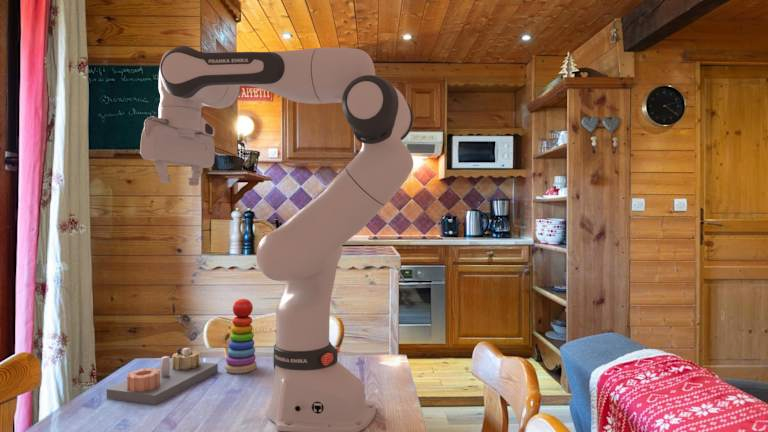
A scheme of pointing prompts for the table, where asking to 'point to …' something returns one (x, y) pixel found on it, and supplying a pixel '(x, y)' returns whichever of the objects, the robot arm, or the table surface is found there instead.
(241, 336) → the stacking toy
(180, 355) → the gear
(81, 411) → the table surface
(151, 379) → the loose gear
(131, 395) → the gear board
